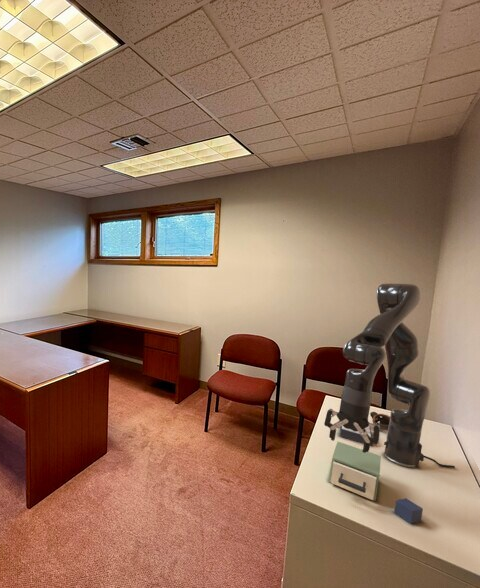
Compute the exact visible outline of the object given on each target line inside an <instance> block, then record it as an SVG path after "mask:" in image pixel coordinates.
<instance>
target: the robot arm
mask: <svg viewBox="0 0 480 588" xmlns="http://www.w3.org/2000/svg"><path fill="white" fill-rule="evenodd" d="M421 299H422V291H421V288H420V287H419V285H417V284H413V283H381V284H380V285H378V287H377V289H376V302H377V303H376V304H377V307H378V311H379V314H378V315H376V316H374V317H372V318H371V319H370V320H369V321H368V322H367V323H366V324H365V327H364V328H363V329H362V331H361V332H360V333H358V334H357V335H355V336H354V337H352V338H351V339H349V340H348V341H347V342H346V343H345V344H344V346H343V348H342V355H343V357H344V358H345V359H346V361H349V362H353V363H356V364H360V365H364V366H366V367H365V369H360V368H349V369H347V371H346V374H345V380H344V386H343V388H342V392H341V398H340V403H339V410H338V411H335V410H334V409H332V408H329V409H328V410H327V411H326V415H325V419H324V423H323V425H324V426H325V427H327V428H328V429H329V435H328V437H329V439H330V441H332V442H334V441H335V439H336V435H337V429H340V427H341V426H344V427H345V428H347V429H351V430H353V431H355V432H356V431H358V432H359V433H360V435H361V436H362V437H363V438H364V440H365V442H364V443H363V447H362V450H363V452H364V453H366V452H370V449H371V445H370V443H372V444H374V445H377V444H379V441H380V433H381V432H380V431H381V430H380V425H379V424H373V422H372V423H371V422H369V417H370V416H369V415H370V410H371V404H372V395H373V394H372V392H373V386H374V382H375V381H374V380H375V377H376V375H377V373H378V372H379V370H380V368H381V367H382V365H383V364H384V362H385V360H386V361H387V362H386V363H387V390H388V394H389V396H390V398H391V399H393V400H394V401H397V402H399V403H401V404H404V405H407V406H409V408H408V409H406V408H393V409H391V411H390V415H389V416H390V421H389V428H388V430H387V435H386V439H385V440H386V441H384V442H383V446H385V447H384V451H383V457H385V458H386V459H387V460H388V461H390V462H391V463H394V464H396V465H399V466H401V467H404V468H405V467H406V468H419V466H420V462H424V459H427V460H430V461H432V462H434V463H435V464H436V465H437V466H439V467H443V468H451V469H452V468H454V469H455V468H456V466H455V465H452V464H442V463H440V462H438V461H437V460H436V459H434V458H432V457H429V456H427V455H424V454H423V453H422V449H423V445H422V443H420V442H421V436H422V432H423V425H424V421H425V418H426V415H427V411H428V407H429V402H430V398H431V390H430V388H429V387H428V386H426V385H423V384H421V383H417V382H414V381H412V380H408V379H406V377H405V371H406V370H407V369H408V368H409V367H410V366H411V365H412V364H413V363H414V362H415V361H416V360H417V359H418V358H419V356H420V348H419V339H418V337H417V336H416V334H415V333H414V331H413V330H411V328H409V327H408V326H407V325H406V323H404V321H405V320H406V319H407V318H408V317H409V316H410V315H411V314H412V313H413V312H414V311H415V310H416V309H417V307H418V306H419V304H420V302H421ZM384 348H385V349H384ZM335 416H336V417H337V419H338V421H336V422H335V423H332V422H331V421H332V418H334V417H335ZM368 426H369V427H370V428H371V432H373V433H372V438H370V436H369V435H368V433H367V431H366V429H365V428H366V427H368Z"/></svg>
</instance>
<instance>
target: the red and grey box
mask: <svg viewBox="0 0 480 588" xmlns="http://www.w3.org/2000/svg"><path fill="white" fill-rule="evenodd" d="M365 429H366V431H367V433H368V435H369V436H370V438H373V433H372V430H371V428H370V427H369V426H368V427H366V428H365ZM339 437H340V438H344V439H346V440H347V439H348V440H351V441H353V442H357V443H361V444H364V442H365V440H364V438H363V437H362V436H361V435H360V433H359V432H358V431H356V432H355V431H353V430H351V429H347V428H345V427H344V426H341V427H339ZM372 444H373V443H370V446H372Z"/></svg>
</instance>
